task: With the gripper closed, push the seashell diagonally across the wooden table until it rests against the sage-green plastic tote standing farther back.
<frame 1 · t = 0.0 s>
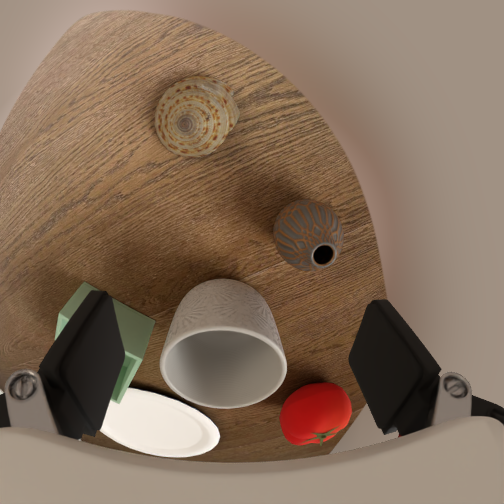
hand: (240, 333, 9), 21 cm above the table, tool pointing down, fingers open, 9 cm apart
plate: (149, 423, 45), on the table
tomato: (308, 391, 43), on the table
seashell: (195, 116, 25), on the table
tote: (108, 330, 35), on the table
planter: (223, 310, 35), on the table
vase: (299, 223, 31), on the table
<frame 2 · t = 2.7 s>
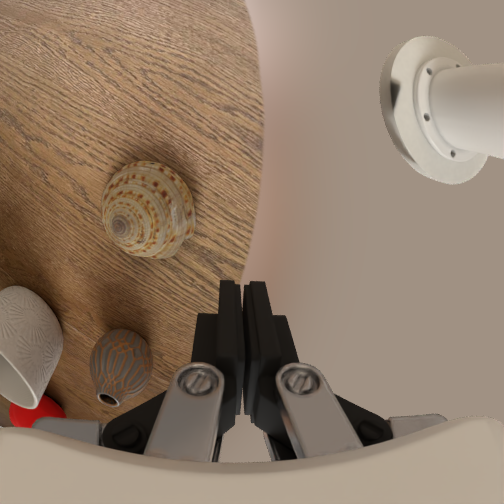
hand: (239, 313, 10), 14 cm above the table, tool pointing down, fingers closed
tomato: (47, 399, 35), on the table
seashell: (149, 207, 23), on the table
planter: (36, 315, 27), on the table
vase: (130, 341, 28), on the table
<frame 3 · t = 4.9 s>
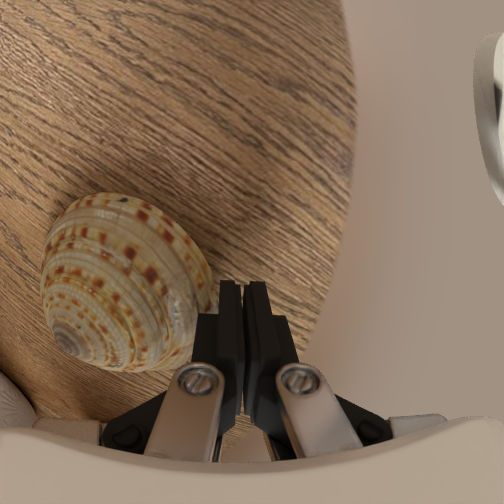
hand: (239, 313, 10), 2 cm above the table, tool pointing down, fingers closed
seashell: (127, 277, 12), on the table, touching gripper
planter: (2, 385, 16), on the table
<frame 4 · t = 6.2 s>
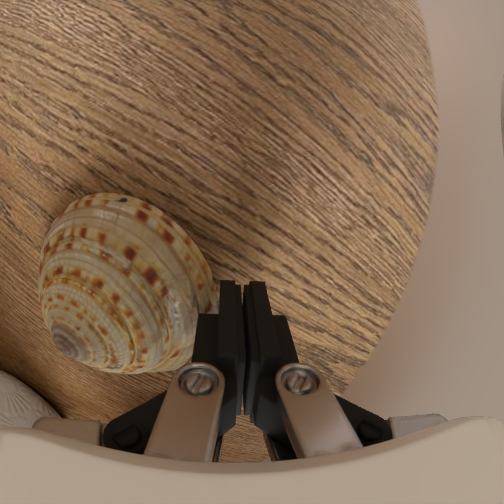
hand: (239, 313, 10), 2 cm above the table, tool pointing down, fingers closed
seashell: (126, 278, 12), on the table, touching gripper
planter: (27, 400, 16), on the table
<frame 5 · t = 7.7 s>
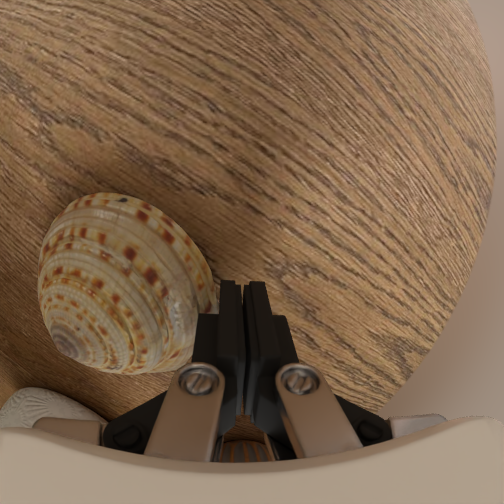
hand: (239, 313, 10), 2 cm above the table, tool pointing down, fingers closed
seashell: (126, 279, 12), on the table, touching gripper
planter: (74, 418, 16), on the table
vase: (240, 447, 18), on the table
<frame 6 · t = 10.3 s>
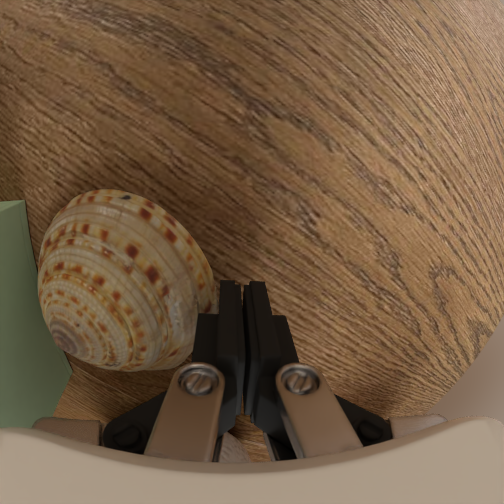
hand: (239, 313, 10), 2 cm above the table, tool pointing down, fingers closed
seashell: (126, 276, 12), on the table, touching gripper
planter: (176, 436, 17), on the table
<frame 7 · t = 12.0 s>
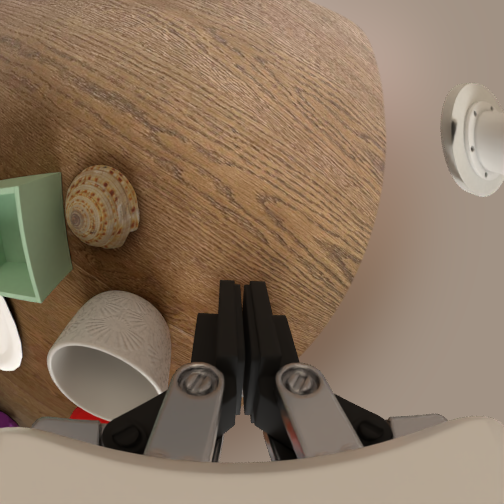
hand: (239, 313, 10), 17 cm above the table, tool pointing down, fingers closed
seashell: (104, 204, 25), on the table
tote: (28, 223, 24), on the table
planter: (129, 322, 30), on the table
mug: (12, 419, 41), on the table
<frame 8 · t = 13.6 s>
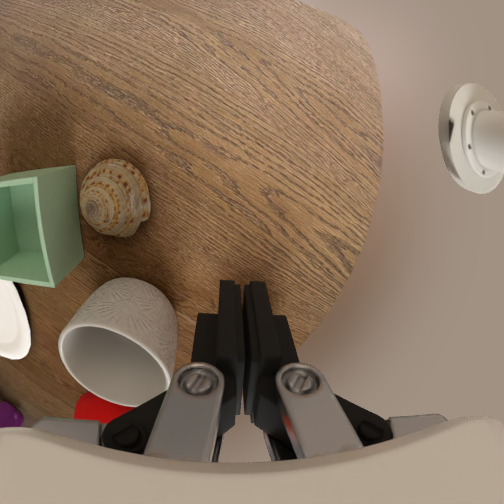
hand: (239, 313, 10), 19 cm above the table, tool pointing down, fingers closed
tomato: (115, 398, 40), on the table
seashell: (117, 195, 27), on the table
tote: (42, 213, 26), on the table
planter: (137, 309, 33), on the table
mug: (16, 409, 45), on the table
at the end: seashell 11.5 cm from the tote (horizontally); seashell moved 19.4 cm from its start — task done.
